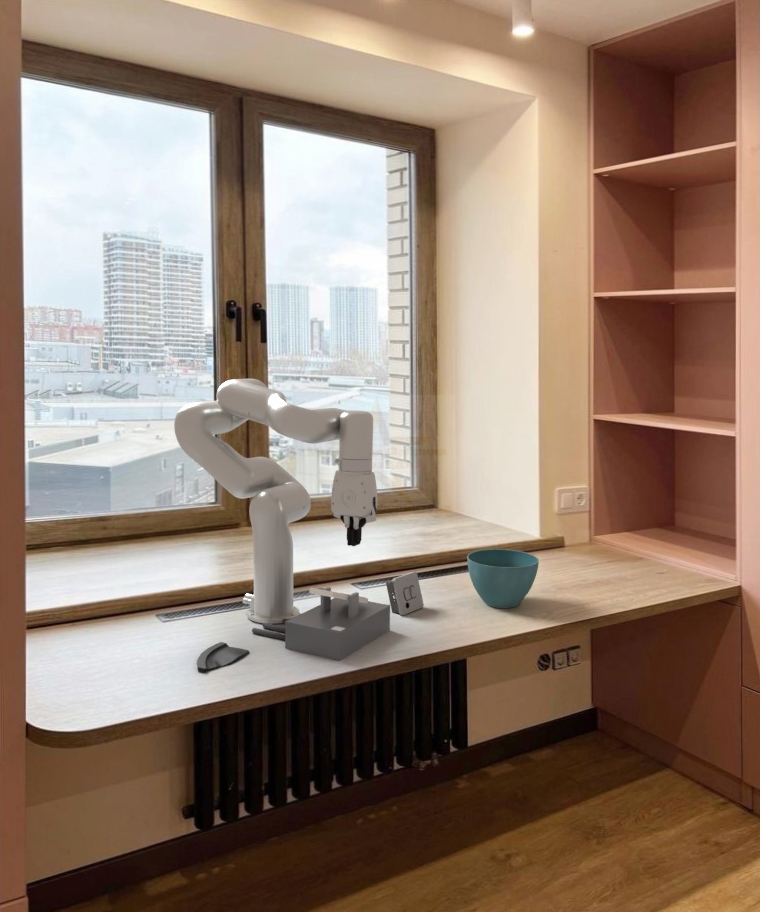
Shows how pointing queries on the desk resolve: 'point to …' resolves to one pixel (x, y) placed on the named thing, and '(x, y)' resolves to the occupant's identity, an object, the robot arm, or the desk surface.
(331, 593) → the breaker rocker
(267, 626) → the three grey prongs
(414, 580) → the electrical switch
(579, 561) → the desk surface
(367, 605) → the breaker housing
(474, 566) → the plant pot
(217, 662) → the fan shaped piece
